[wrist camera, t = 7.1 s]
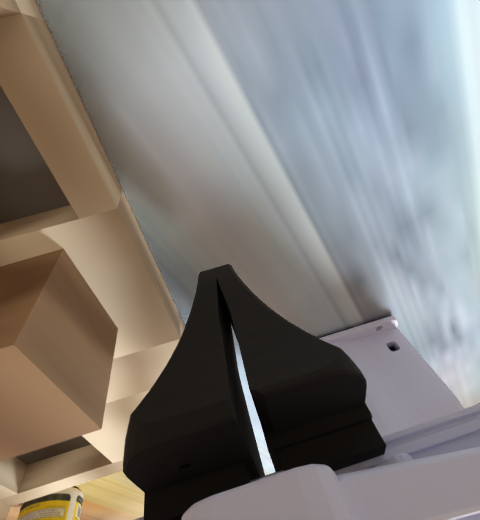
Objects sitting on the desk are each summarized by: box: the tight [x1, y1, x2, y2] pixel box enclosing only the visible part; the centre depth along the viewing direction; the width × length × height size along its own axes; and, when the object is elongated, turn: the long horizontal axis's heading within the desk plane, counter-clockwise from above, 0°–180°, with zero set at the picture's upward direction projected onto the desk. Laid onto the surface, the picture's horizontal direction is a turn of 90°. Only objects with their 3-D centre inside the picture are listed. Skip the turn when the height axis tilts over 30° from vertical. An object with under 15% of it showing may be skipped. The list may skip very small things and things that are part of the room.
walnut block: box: [0, 248, 118, 461], centre depth 11 cm, size 5×5×5 cm
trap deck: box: [0, 0, 185, 520], centre depth 15 cm, size 18×27×3 cm, turn 11°
